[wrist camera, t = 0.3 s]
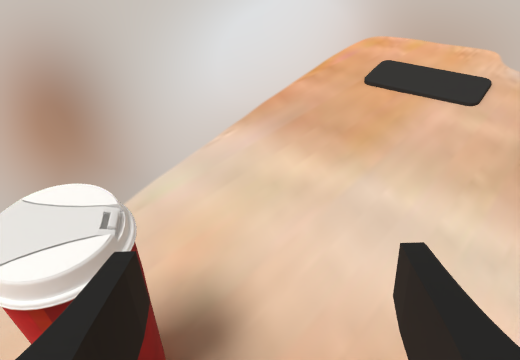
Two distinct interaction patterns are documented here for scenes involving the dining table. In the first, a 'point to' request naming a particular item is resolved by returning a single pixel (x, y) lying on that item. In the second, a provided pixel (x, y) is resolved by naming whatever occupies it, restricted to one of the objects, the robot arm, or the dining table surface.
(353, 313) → the dining table surface
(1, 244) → the coffee cup
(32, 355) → the robot arm
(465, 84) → the phone
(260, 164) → the dining table surface
